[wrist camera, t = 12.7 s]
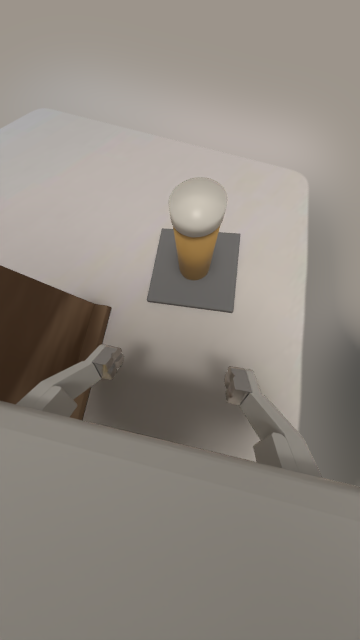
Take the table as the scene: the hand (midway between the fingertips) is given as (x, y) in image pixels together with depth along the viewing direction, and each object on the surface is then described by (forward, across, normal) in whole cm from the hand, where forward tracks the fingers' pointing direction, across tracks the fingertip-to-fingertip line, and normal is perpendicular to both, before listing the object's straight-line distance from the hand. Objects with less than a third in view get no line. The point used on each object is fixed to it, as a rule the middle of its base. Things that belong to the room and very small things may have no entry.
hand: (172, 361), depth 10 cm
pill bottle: (+12, 0, -4) cm, 13 cm away
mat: (+13, 0, -4) cm, 13 cm away
